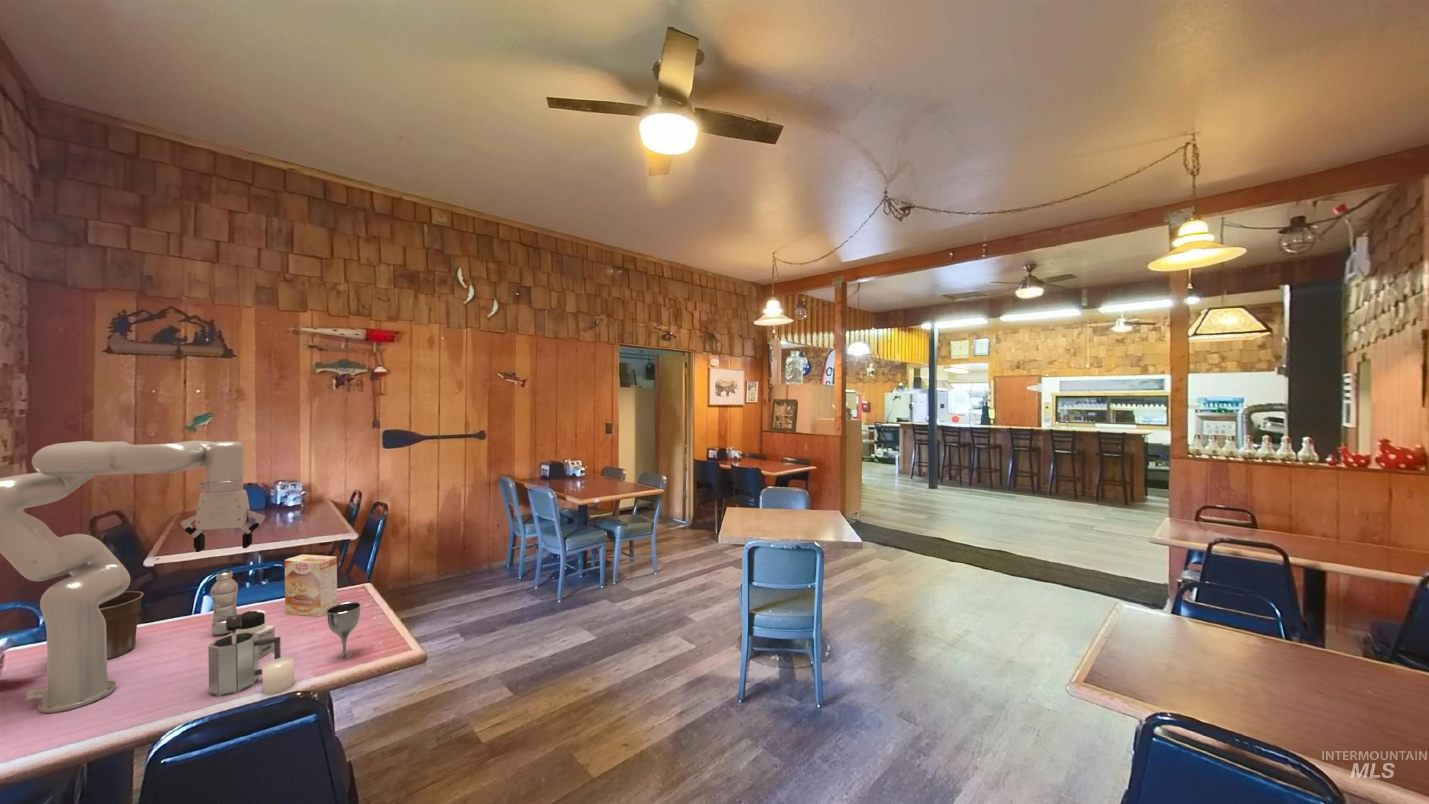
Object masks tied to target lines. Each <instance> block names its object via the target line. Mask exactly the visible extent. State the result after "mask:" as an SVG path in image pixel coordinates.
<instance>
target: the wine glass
mask: <svg viewBox="0 0 1429 804" xmlns="http://www.w3.org/2000/svg"><path fill="white" fill-rule="evenodd" d="M360 614H361V603H360V602H356V601H355V602H354V601H350V602H349V601H348V602H343V603H339V604H337V605H335V606H333V607H331V608H329V609H328V610H327V614H326V616H327V617H326V618H327V619H326V620H327V623H328V627H329V629H330V631H331V632H332V633H333V634H335V635H337V636H338V637H339V639H340V640H341V646H342V653H341V654H339V655H338V656H336V659H337V660H344V659H347V658H349V657H351V656H352V655H353V653H352V652H347V641H348V637H349V636H350V634H351V632H353V630H354V629H355V628H356V626H357V625H358V623H359V620H360Z"/></svg>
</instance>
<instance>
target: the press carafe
mask: <svg viewBox="0 0 1429 804" xmlns="http://www.w3.org/2000/svg"><path fill="white" fill-rule="evenodd" d="M229 634H230V635H229ZM229 634H228V635H226V636H222V637H219V638H217V639H215V640H213V641H212V642H211V643H210V645H208V649H207V650H208V695H210V696H211V697H217V698H219V697H226V696H227V697H228V696H231V695H236V694H239V693H241V692H244V691H246V690H248V689H250V688H252V687H253V686H255V685H256V684H257V683H258V682H259V679H260V676H262V668H261V669H259V668H260V667H259V666H260V664H259V663H260V662H259V661H260V660H259V659H260V658H259V656H258V646H260V645H265V644H271V643H274V651H273V652H274V655H273V656H274V660H275V659H278V658H282V657H281V654H282V653H281V650H282V649H281V636H277V637H276V636H275V638H269V639H263V640H258V633H255V632H251V631H248V632H241V633H236V645H232V634H231V633H229Z"/></svg>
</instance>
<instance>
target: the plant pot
mask: <svg viewBox="0 0 1429 804" xmlns="http://www.w3.org/2000/svg"><path fill="white" fill-rule="evenodd" d="M143 597H144V592H142V591H137V590H136V591H135V590H133V591H131V590H129V591H127V590H126V591H124V592H123V593H122V594H120V595H119V596H117V597H115V598H113V599H111V600H109V601H106V602H104V603H102V604H100V605H99V610H100V611H101V613H102V614H103V616H104V618H105V621H106V636H107V661H108V660H112V659H114V658H117V657H120V656H122V655H124V654H127V653H128V652H129V650H133V649H134V648H135V647H136V639H137V628H138V619H139V618H138V617H139V610H140V609H141V604H142V603H141V602H142V599H143Z"/></svg>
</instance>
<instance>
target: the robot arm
mask: <svg viewBox="0 0 1429 804" xmlns="http://www.w3.org/2000/svg"><path fill="white" fill-rule="evenodd" d="M31 465H32V467H33V469H35V471H37V472H32V473H25V474H18V475H10V476H5V477H0V554H1V555H2V556H3V557H4V559H6V560H7V561H8V562H9V563H10V565H11V566H12V567H13V568H14V569H15V570H16V571H17V572H18V573H19V574H20V575H21V576H22V577H24V578H25V579H27V580H28V581H31V582H43V581H44V582H45V581H48V580H51V579H56V578H57V577H61V576H63V575H67V574H69V575H70V576H68V577H66V578H64V579H62V580H60V581H57V582H56V583H54V584H53V585H51V586H50V587H48V588H47V589H46V591H45V590H44V591H45V592H44V593H43V594H42V595H41V598H40V601H39V607H40V611H41V614H42V617H43V619H44V624H45V631H46V651H47V652H46V655H47V657H46V659H47V663H46V664H47V685H46V687H43V688H42V687H41V688H33V689H28V690H27V692H26V693H25V696H24V697H25V702H32V701H36V700H40V702H39V703H38V705H37V710H38V712H39V713H44V714H49V713H51V714H52V713H58V712H59V713H60V712H63V711H64V712H65V711H69V710H72V709H76V708H80V707H83V706H86V705H89V704H92V703H94V702H96V701H99V700H102V699H103V698H105V697H107V696H109V695H110V694H112V693H113V692H115V690H116V689H117V683H116V681H113V680H108V660H107V636H106V621H105V618H104V616H103V614H102V613H101V611H100V610H99V605H100V604H102V603H104V602H106V601H109V600H111V599H113V598H115V597H117V596H119V595H120V594H122V593H123V592H126V591H127V589H128V588H129V586H130V583H131V575H130V573H129V571H128V569H127V568H126V567H125V566H124V564H122V562H120V560H119V559H118V558H117V557H116V556H115V555H114V554H113V552H112V551H111V550H110V549H109V548H108V547H107V546H106V545H105V544H104V542H102V541H101V540H100V539H98V538H96V537H95V536H92V535H90V534H85V533H73V534H72V533H71V534H68V535H64V536H58V535H57V534H55V533H54V532H53V531H52V530H51V529H50V527H49V526H48V525H47V524H46V523H45V522H43V521H42V520H41V519H39V518H37V517H35V516H33V515H30V514H28V513H27V512H25V511H24V510H25V509H29V508H32V507H34V508H35V507H37V506H43V505H47V504H48V505H49V504H51V503H55V502H58V501H60V500H62V499H64V498H65V497H67V496H69V495H70V494H72V493H73V492H75V490H77V489H79V488H80V487H81V486H83V484H85V483H86V482H88V481H89V480H91V479H92V478H93V477H94V476H99V475H100V476H103V475H146V474H147V475H149V474H168V473H171V474H172V473H178V472H183V471H187V470H193V469H199V468H205V470H204V471H205V472H204V475H205V476H204V478H205V479H204V482H202V483H198V485H197V487H198V489H203V492H201V493H200V495H199V498H198V502H197V507H196V508H197V509H196V513H195V515H193V516H191V517H189V518H186V519H183V520H181V521H180V525H181V526H182V528H183V529H184V532H186V533H187V534H188V535H190V536H191V538H193V549H194V550H195V553H200V552H201V551H204V550H205V548H206V536H205V534H204V533H205V532H206V531H220V530H231V529H232V530H233V529H240V530H241V531H243V532H244V533H243V534H242V536H241V537H242V541H241V542H242V545H241V547H242V549H248V548H249V547H250V546H251V545H252V544H253V532H254V531H255V530H256V529H257V528H259V527H260V526H261V524H262V522H264V520H265V518H266V515H264V514H261V513H258V512H255V511H253V510H250V502H249V497H248V492H247V490H246V489H244V445H243V443H242V442H240V441H235V440H234V441H233V440H229V441H227V440H225V441H210V440H198V439H197V440H196V439H195V440H187V441H178V442H171V443H156V444H155V443H154V444H153V443H152V444H130V443H128V442H127V441H120V440H119V441H97V442H96V441H92V440H90V441H89V440H83V441H82V440H80V441H73V442H62V443H54V444H50V445H47V446H44V447H42V448H40V449H39V450H38V451H36V452H35V453H34V455H33V456H32V458H31ZM251 518H253V519H255V521H254V523H253V524H252V525H251V524H250V523H249V522H250V521H251ZM194 521H195V526H193V525H192V522H194Z"/></svg>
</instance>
